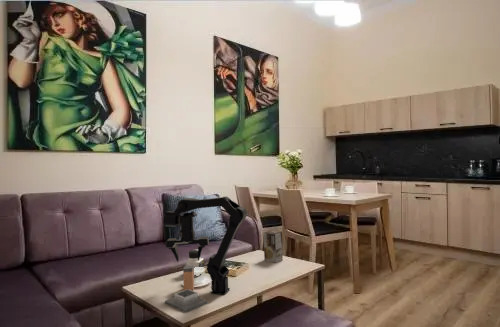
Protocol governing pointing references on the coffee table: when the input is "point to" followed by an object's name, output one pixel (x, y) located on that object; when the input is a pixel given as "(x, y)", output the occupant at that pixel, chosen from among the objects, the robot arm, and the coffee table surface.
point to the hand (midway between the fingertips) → (188, 260)
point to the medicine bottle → (195, 259)
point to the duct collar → (186, 300)
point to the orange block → (188, 277)
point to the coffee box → (273, 246)
